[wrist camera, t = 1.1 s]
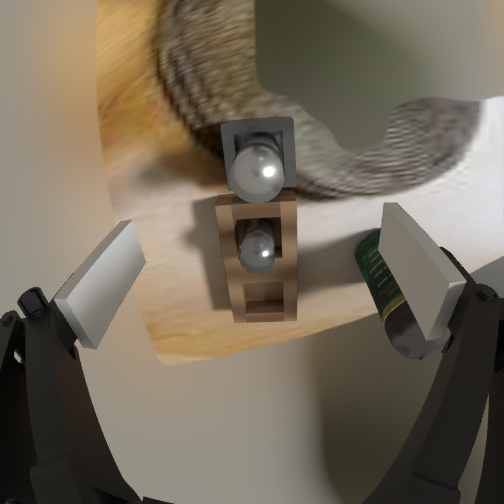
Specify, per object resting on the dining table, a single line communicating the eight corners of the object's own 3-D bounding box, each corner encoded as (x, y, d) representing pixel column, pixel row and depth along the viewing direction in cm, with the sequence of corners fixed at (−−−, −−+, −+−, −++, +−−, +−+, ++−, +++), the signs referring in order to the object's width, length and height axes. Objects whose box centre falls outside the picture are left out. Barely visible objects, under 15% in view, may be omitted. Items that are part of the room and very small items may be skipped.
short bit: (243, 216, 38) (237, 246, 31) (272, 214, 38) (273, 244, 31) (246, 242, 40) (241, 275, 33) (274, 240, 40) (275, 273, 33)
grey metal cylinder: (239, 133, 32) (224, 152, 21) (278, 130, 32) (284, 148, 21) (243, 169, 34) (231, 206, 23) (280, 166, 34) (287, 203, 23)
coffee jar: (345, 251, 41) (382, 344, 25) (385, 219, 38) (445, 300, 22) (375, 286, 44) (412, 373, 28) (411, 258, 41) (463, 339, 25)
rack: (219, 195, 37) (214, 205, 34) (293, 190, 37) (296, 201, 33) (236, 306, 48) (234, 322, 44) (294, 304, 47) (296, 320, 43)
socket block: (226, 121, 32) (220, 124, 28) (290, 116, 31) (293, 118, 28) (232, 180, 36) (228, 190, 32) (293, 176, 36) (296, 186, 32)
